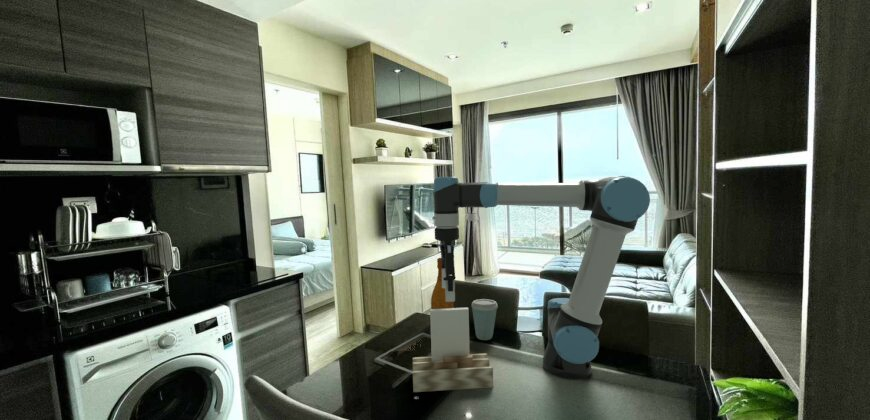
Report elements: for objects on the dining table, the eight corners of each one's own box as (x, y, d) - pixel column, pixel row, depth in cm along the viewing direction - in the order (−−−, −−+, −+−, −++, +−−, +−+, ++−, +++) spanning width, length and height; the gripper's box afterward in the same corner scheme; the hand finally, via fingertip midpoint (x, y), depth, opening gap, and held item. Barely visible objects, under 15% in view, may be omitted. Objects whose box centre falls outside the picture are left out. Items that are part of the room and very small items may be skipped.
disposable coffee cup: (469, 332, 150) (468, 297, 149) (494, 330, 151) (493, 295, 150) (474, 343, 139) (474, 306, 138) (501, 341, 140) (501, 304, 139)
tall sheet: (469, 374, 115) (467, 307, 114) (470, 376, 114) (468, 309, 112) (432, 376, 115) (430, 309, 113) (432, 379, 113) (430, 311, 111)
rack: (487, 374, 117) (486, 353, 116) (493, 390, 108) (492, 367, 107) (413, 378, 116) (412, 357, 115) (413, 395, 106) (412, 372, 106)
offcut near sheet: (472, 379, 112) (471, 354, 112) (473, 382, 111) (472, 357, 110) (443, 381, 112) (443, 356, 111) (444, 384, 110) (443, 358, 110)
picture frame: (373, 358, 127) (426, 330, 151) (374, 363, 128) (426, 333, 151) (414, 374, 116) (464, 340, 140) (415, 379, 116) (464, 345, 140)
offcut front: (457, 384, 110) (456, 361, 109) (458, 386, 108) (457, 364, 108) (434, 385, 110) (434, 363, 109) (434, 388, 108) (434, 365, 107)
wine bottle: (446, 330, 152) (444, 261, 150) (427, 326, 158) (425, 259, 155) (457, 322, 161) (456, 256, 158) (439, 318, 166) (437, 254, 164)
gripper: (432, 222, 123) (433, 283, 125) (437, 232, 98) (438, 308, 100) (454, 222, 123) (455, 282, 125) (464, 231, 99) (465, 307, 100)
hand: (448, 294), depth 112 cm, fingers open, 13 cm apart
